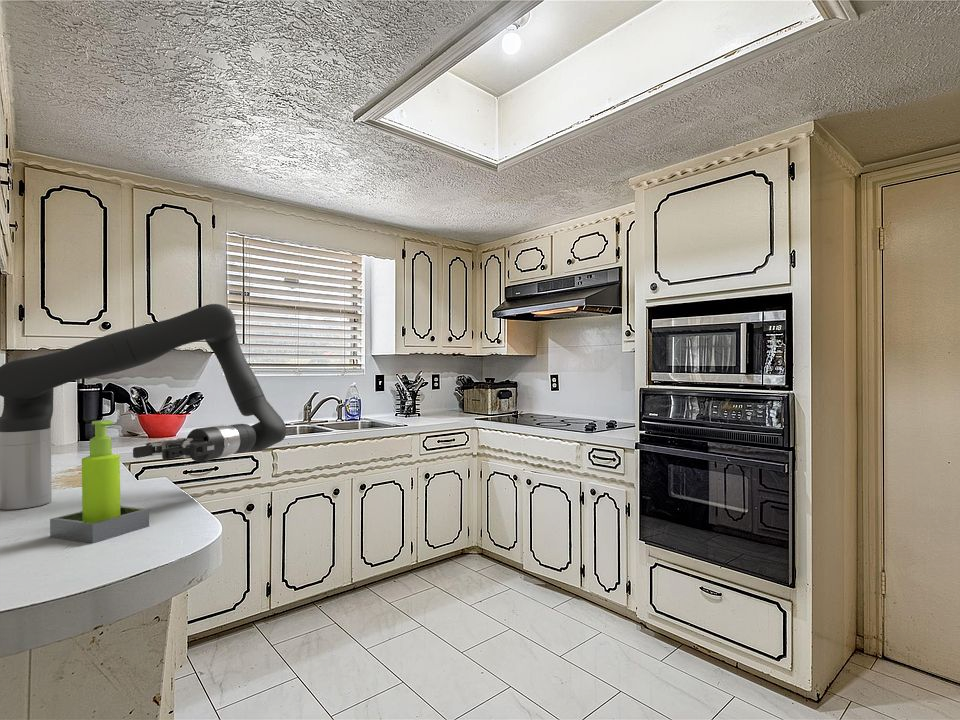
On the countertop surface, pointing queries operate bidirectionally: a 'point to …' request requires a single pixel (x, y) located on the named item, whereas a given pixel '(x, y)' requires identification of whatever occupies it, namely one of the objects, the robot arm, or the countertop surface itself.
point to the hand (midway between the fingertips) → (148, 453)
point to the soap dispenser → (100, 477)
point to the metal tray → (98, 525)
